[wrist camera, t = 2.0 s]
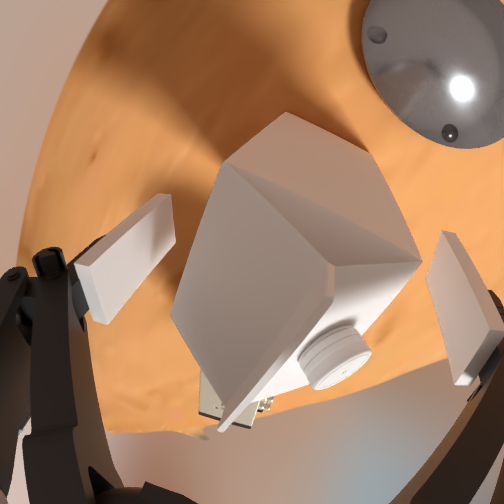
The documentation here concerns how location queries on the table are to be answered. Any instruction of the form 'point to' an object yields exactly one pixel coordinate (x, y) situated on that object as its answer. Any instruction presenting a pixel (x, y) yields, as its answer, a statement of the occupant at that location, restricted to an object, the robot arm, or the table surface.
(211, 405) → the pneumatic valve
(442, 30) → the duct flange
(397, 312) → the table surface
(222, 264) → the milk carton
